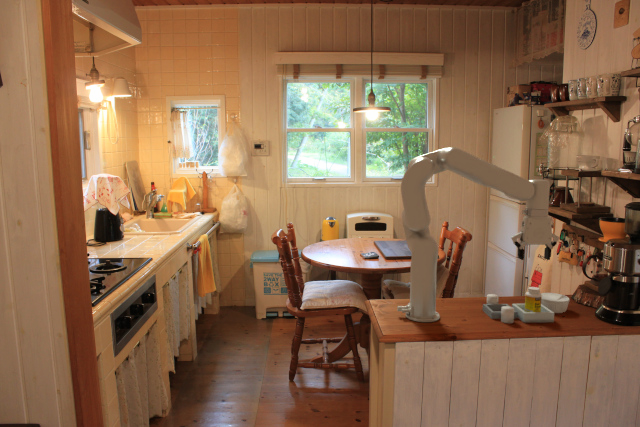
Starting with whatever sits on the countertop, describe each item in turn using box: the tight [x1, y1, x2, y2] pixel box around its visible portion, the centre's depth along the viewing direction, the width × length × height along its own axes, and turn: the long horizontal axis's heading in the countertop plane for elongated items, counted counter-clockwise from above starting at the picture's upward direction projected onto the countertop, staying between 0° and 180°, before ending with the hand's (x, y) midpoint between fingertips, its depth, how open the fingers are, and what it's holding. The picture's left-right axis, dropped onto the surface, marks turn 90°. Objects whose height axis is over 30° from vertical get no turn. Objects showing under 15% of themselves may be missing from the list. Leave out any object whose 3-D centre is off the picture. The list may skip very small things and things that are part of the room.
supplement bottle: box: [524, 286, 542, 312], centre depth 180 cm, size 6×6×10 cm
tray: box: [511, 303, 555, 324], centre depth 181 cm, size 11×11×4 cm
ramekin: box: [540, 292, 570, 314], centre depth 189 cm, size 11×11×5 cm
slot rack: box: [482, 293, 518, 324], centre depth 184 cm, size 10×19×5 cm, turn 1°
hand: (534, 259), depth 178 cm, fingers open, 9 cm apart
